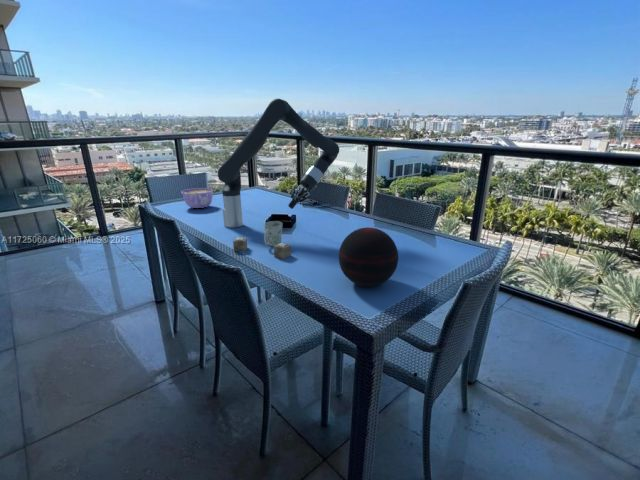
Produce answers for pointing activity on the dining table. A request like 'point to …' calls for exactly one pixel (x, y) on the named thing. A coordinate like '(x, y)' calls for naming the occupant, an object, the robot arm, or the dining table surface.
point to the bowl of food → (198, 197)
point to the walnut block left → (240, 244)
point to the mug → (273, 232)
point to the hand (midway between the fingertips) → (290, 207)
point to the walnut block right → (282, 250)
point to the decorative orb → (368, 257)
